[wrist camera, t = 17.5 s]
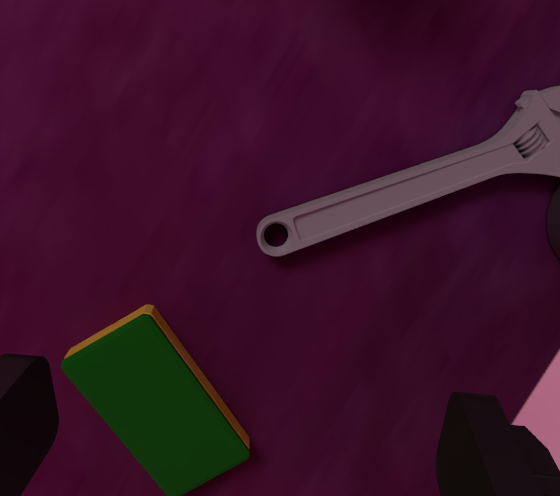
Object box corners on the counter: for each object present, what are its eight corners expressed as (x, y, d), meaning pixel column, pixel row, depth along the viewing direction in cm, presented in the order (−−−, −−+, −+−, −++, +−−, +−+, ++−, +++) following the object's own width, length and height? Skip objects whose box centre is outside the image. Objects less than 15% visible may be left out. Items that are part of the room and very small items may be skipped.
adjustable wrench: (262, 257, 34) (263, 264, 33) (237, 167, 33) (237, 170, 31) (603, 164, 35) (622, 166, 33) (596, 71, 33) (616, 68, 32)
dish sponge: (174, 478, 40) (171, 502, 37) (67, 347, 36) (56, 365, 33) (251, 436, 39) (252, 458, 37) (152, 299, 35) (146, 313, 33)
